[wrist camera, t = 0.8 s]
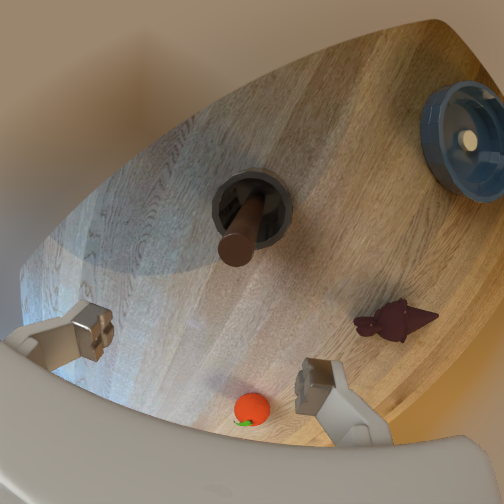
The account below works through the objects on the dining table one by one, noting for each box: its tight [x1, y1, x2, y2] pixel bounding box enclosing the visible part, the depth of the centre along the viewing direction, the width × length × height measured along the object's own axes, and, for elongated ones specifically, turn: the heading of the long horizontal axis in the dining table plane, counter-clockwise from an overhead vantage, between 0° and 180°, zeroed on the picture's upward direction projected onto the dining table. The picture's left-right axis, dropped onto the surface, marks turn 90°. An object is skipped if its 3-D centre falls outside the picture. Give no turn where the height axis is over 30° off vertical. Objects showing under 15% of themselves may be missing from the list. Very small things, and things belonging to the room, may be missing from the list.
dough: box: [458, 130, 477, 151], centre depth 30 cm, size 3×3×2 cm
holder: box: [212, 167, 293, 250], centre depth 34 cm, size 9×9×8 cm
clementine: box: [233, 393, 270, 426], centre depth 48 cm, size 8×7×7 cm
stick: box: [218, 192, 265, 267], centre depth 28 cm, size 2×2×20 cm
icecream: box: [353, 298, 439, 343], centre depth 39 cm, size 7×7×15 cm
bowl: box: [420, 80, 504, 203], centre depth 29 cm, size 18×18×6 cm
